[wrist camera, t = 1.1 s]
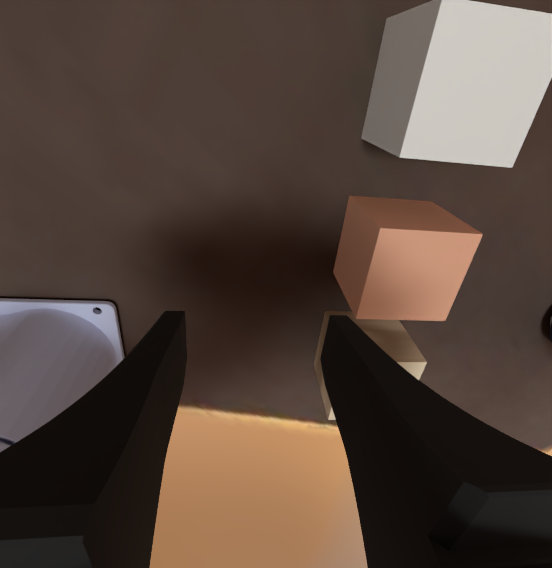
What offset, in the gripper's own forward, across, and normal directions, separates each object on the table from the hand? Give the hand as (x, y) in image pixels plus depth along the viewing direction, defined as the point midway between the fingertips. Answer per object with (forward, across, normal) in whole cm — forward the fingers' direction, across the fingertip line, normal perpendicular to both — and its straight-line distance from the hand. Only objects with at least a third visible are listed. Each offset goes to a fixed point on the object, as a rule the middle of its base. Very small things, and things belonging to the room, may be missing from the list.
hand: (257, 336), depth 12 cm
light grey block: (+10, -8, -8) cm, 15 cm away
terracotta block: (+10, -8, 0) cm, 12 cm away
